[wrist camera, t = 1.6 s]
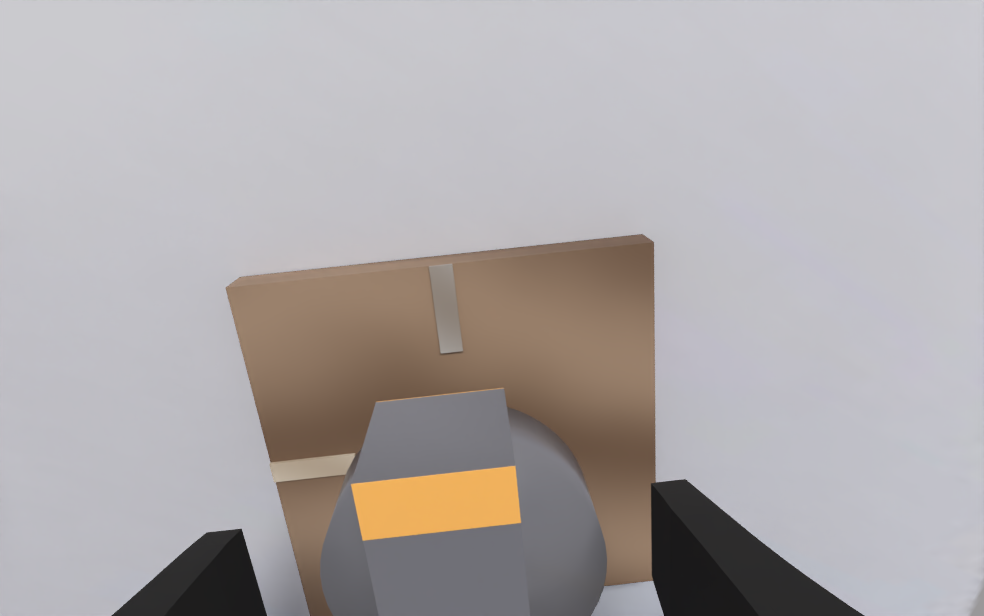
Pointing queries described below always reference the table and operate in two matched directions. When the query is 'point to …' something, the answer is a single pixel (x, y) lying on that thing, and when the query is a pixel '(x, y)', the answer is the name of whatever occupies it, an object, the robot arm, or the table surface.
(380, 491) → the twist knob
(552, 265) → the knob base
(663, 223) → the table surface
